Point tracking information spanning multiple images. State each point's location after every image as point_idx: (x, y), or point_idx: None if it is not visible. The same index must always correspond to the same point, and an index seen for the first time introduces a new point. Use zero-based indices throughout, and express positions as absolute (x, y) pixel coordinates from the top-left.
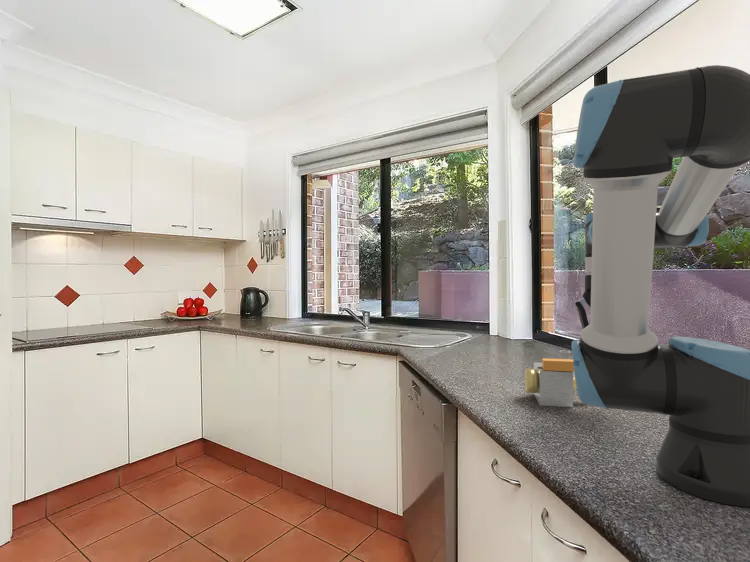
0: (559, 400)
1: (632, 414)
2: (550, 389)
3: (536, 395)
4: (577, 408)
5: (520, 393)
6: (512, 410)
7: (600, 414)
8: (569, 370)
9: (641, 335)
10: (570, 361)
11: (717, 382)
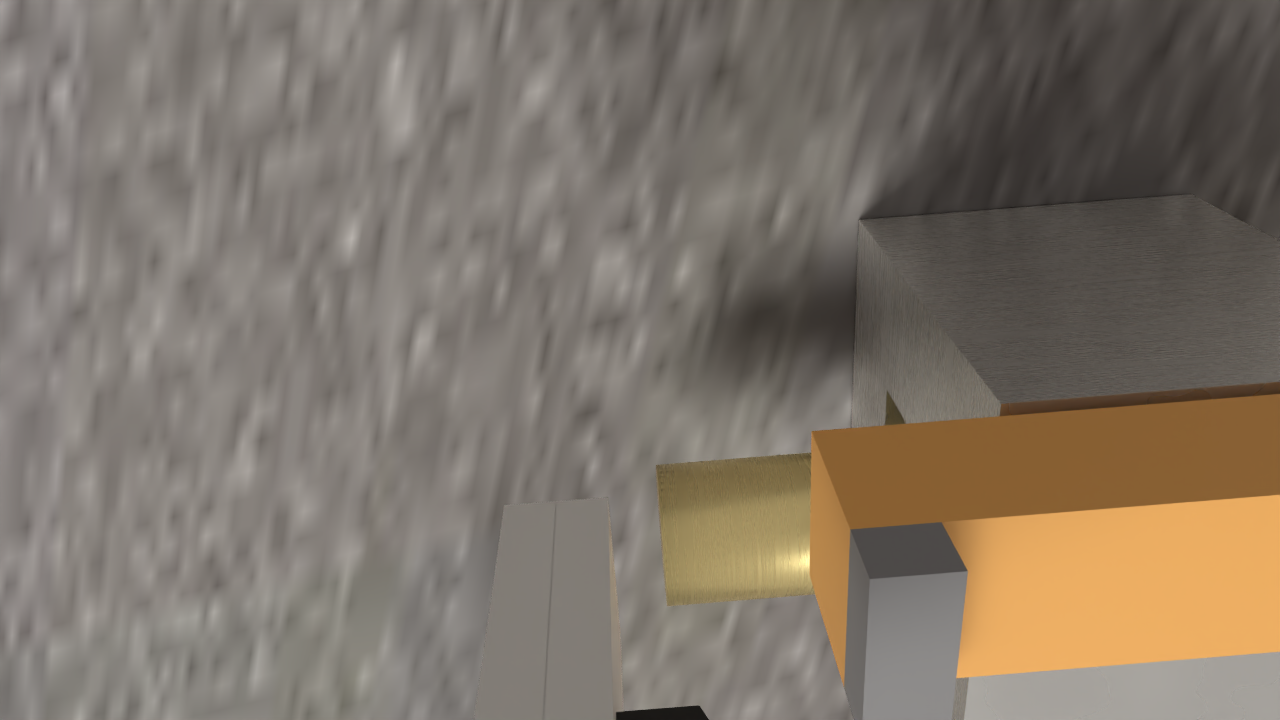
0: (1020, 230)
1: (304, 148)
2: (1181, 267)
3: None
4: (822, 198)
5: None
6: None
7: (630, 56)
8: (1065, 419)
9: None
10: (1121, 516)
11: None
